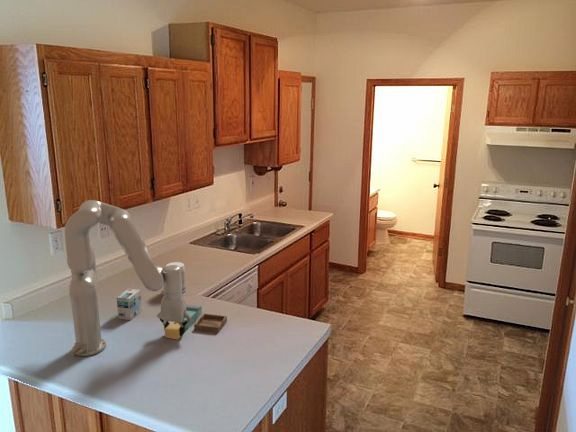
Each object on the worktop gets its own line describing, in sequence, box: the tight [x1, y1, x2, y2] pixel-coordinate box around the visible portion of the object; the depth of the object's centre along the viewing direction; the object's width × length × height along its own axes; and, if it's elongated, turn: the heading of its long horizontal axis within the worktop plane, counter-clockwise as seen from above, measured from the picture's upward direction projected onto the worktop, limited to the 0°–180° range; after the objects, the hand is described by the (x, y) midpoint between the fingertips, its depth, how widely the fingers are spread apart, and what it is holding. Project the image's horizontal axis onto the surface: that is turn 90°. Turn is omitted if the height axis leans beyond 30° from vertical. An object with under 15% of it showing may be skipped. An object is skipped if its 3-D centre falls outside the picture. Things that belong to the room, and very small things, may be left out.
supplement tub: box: [165, 261, 187, 294], centre depth 242 cm, size 10×10×15 cm
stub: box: [164, 322, 182, 340], centre depth 198 cm, size 6×6×4 cm
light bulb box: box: [116, 288, 143, 321], centre depth 216 cm, size 11×7×11 cm, turn 168°
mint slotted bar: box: [174, 304, 203, 330], centre depth 211 cm, size 16×8×5 cm, turn 168°
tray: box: [193, 313, 228, 334], centre depth 207 cm, size 11×11×2 cm
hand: (174, 333), depth 198 cm, fingers closed on stub, 6 cm apart
